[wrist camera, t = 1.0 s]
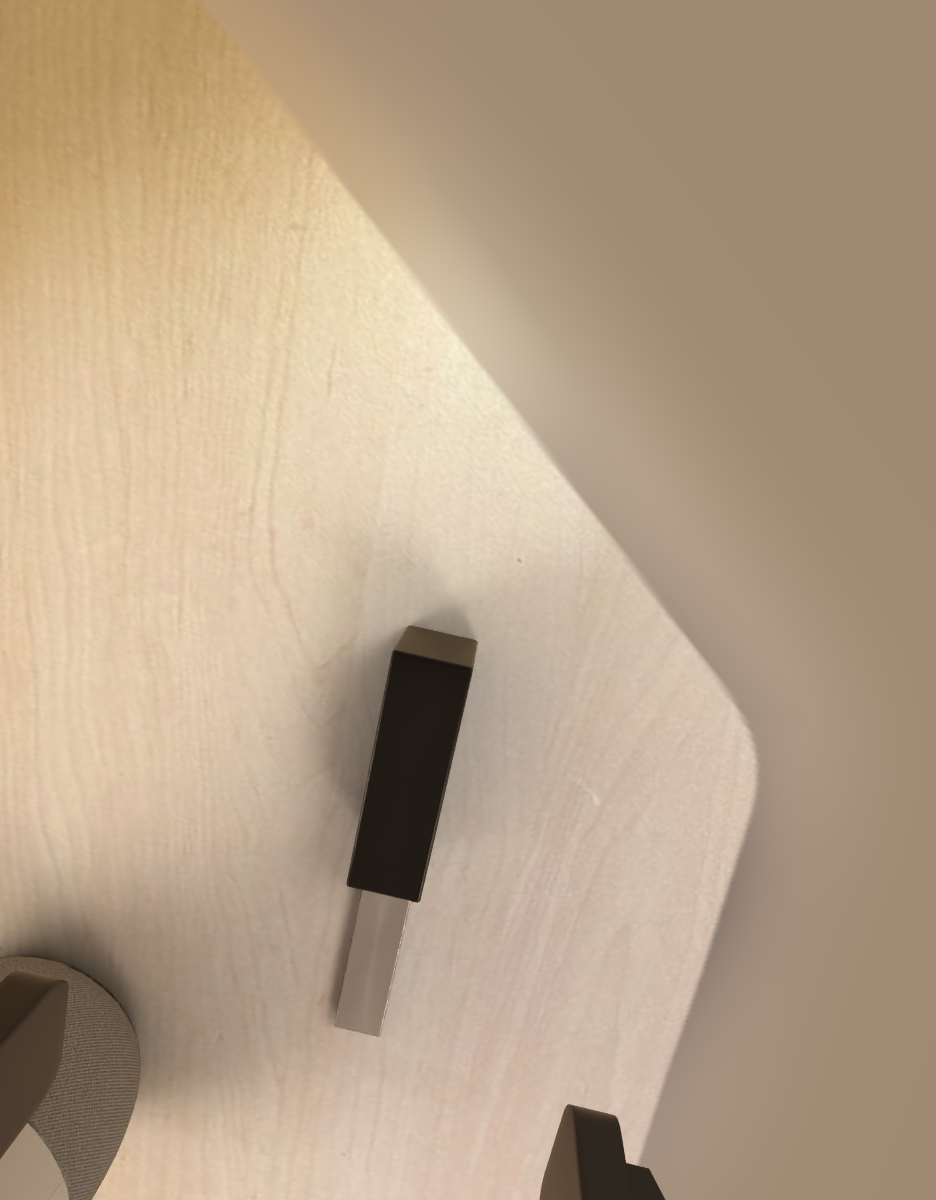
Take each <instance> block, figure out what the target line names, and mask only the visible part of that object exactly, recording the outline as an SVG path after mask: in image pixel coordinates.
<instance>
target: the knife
mask: <svg viewBox="0 0 936 1200" xmlns="http://www.w3.org/2000/svg"><path fill="white" fill-rule="evenodd" d="M477 645H478V642H477V641H476V640H473V639H468V638H464V637H459V636H455V635H451V634H446V633H442V632H437V631H433V630H428V629H424V628H419V627H415V626H411V625H410V626H408V627H407V629H406V630H405V632H404V634H403V635H402V637H401V638H400V640H399V642H398V643H397V645H396V647H395V648H394V650H393V652H392V656H391V661H390V666H389V671H388V676H387V681H386V686H385V691H384V696H383V701H382V706H381V711H380V716H379V721H378V726H377V732H376V737H375V742H374V747H373V752H372V757H371V762H370V767H369V772H368V777H367V782H366V787H365V792H364V797H363V802H362V807H361V813H360V818H359V823H358V828H357V833H356V838H355V843H354V848H353V853H352V858H351V863H350V868H349V873H348V878H347V886H348V887H352V888H356V889H361V890H362V892H361V897H360V902H359V906H358V911H357V916H356V921H355V926H354V931H353V936H352V941H351V946H350V951H349V955H348V960H347V965H346V970H345V975H344V980H343V985H342V990H341V995H340V1000H339V1004H338V1009H337V1014H336V1019H335V1024H334V1026H335V1027H339V1028H343V1029H347V1030H352V1031H356V1032H360V1033H364V1034H368V1035H373V1036H377V1037H380V1035H381V1031H382V1026H383V1022H384V1017H385V1013H386V1009H387V1004H388V1000H389V995H390V991H391V986H392V982H393V977H394V973H395V968H396V964H397V960H398V955H399V951H400V946H401V942H402V937H403V933H404V928H405V924H406V919H407V915H408V910H409V906H410V902H411V901H412V902H417V903H418V902H419V901H420V900H421V896H422V891H423V887H424V883H425V878H426V874H427V869H428V865H429V861H430V856H431V852H432V848H433V843H434V839H435V834H436V830H437V826H438V821H439V817H440V813H441V808H442V804H443V799H444V795H445V791H446V786H447V782H448V777H449V773H450V769H451V764H452V760H453V756H454V751H455V747H456V742H457V738H458V734H459V729H460V725H461V721H462V716H463V712H464V707H465V703H466V699H467V694H468V690H469V685H470V681H471V677H472V672H473V667H474V662H475V656H476V650H477Z"/></svg>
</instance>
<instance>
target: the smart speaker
mask: <svg viewBox="0 0 936 1200" xmlns="http://www.w3.org/2000/svg"><path fill="white" fill-rule="evenodd" d="M19 969H21V970H26V971H30V972H34V973H38V974H42V975H46V976H51V977H55V978H59V979H63V980H66V981H67V983H68V986H69V991H68V1002H67V1012H66V1022H65V1032H64V1042H63V1052H62V1059H61V1063H60V1066H59V1069H58V1072H57V1075H56V1077H55V1079H54V1082H53V1084H52V1086H51V1088H50V1090H49V1092H48V1093H47V1095H46V1097H45V1099H44V1100H43V1102H42V1103H41V1105H40V1106H39V1108H38V1109H37V1110H36V1112H35V1113H34V1115H33V1116H32V1117H31V1119H30V1120H29V1121H28V1123H27V1124H26V1125H25V1127H24V1128H23V1129H22V1131H21V1132H20V1134H19V1135H18V1136H17V1138H16V1139H15V1140H14V1142H13V1143H12V1144H11V1146H10V1147H9V1148H8V1150H7V1151H6V1152H5V1154H4V1155H3V1157H2V1158H1V1159H0V1200H92V1198H93V1197H94V1195H95V1193H96V1192H97V1190H98V1188H99V1186H100V1185H101V1183H102V1181H103V1179H104V1177H105V1175H106V1174H107V1172H108V1170H109V1168H110V1166H111V1164H112V1162H113V1160H114V1158H115V1156H116V1154H117V1152H118V1149H119V1147H120V1145H121V1143H122V1140H123V1138H124V1135H125V1132H126V1130H127V1127H128V1124H129V1121H130V1119H131V1116H132V1112H133V1109H134V1105H135V1102H136V1098H137V1093H138V1087H139V1081H140V1049H139V1044H138V1040H137V1036H136V1033H135V1031H134V1028H133V1026H132V1024H131V1021H130V1020H129V1018H128V1016H127V1014H126V1012H125V1011H124V1009H123V1008H122V1006H121V1005H120V1004H119V1002H118V1001H117V1000H116V999H115V997H114V996H113V995H112V994H111V993H110V992H109V991H108V990H107V989H106V988H105V987H104V986H102V985H101V984H100V983H99V982H97V981H96V980H95V979H93V978H92V977H90V976H89V975H87V974H85V973H84V972H82V971H80V970H78V969H76V968H74V967H72V966H69V965H66V964H64V963H61V962H57V961H54V960H49V959H44V958H38V957H28V956H15V957H5V958H0V983H1V982H2V981H3V980H4V979H5V978H6V977H7V976H8V975H9V974H11V973H12V972H14V971H16V970H19Z"/></svg>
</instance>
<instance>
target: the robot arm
mask: <svg viewBox="0 0 936 1200" xmlns="http://www.w3.org/2000/svg"><path fill="white" fill-rule="evenodd" d="M68 991H69V986H68V983H67V981H66V980H63V979H59V978H55V977H51V976H46V975H42V974H38V973H34V972H30V971H26V970H21V969H19V970H16V971H14V972H12V973H11V974H9V975H8V976H7V977H6V978H5V979H4V980H3V981H2V982H1V983H0V1159H1V1158H2V1157H3V1155H4V1154H5V1152H6V1151H7V1150H8V1148H9V1147H10V1146H11V1144H12V1143H13V1142H14V1140H15V1139H16V1138H17V1136H18V1135H19V1134H20V1132H21V1131H22V1129H23V1128H24V1127H25V1125H26V1124H27V1123H28V1121H29V1120H30V1119H31V1117H32V1116H33V1115H34V1113H35V1112H36V1110H37V1109H38V1108H39V1106H40V1105H41V1103H42V1102H43V1100H44V1099H45V1097H46V1095H47V1093H48V1092H49V1090H50V1088H51V1086H52V1084H53V1082H54V1079H55V1077H56V1075H57V1072H58V1069H59V1066H60V1063H61V1059H62V1052H63V1042H64V1032H65V1022H66V1012H67V1002H68ZM540 1200H665V1198H664V1196H663V1195H662V1193H661V1191H660V1189H659V1187H658V1185H657V1183H656V1181H655V1179H654V1177H653V1175H652V1174H651V1172H650V1170H649V1169H648V1168H644V1167H640V1166H636V1165H632V1164H628V1163H626V1160H625V1154H624V1147H623V1141H622V1135H621V1130H620V1125H619V1122H618V1119H617V1117H616V1116H615V1115H611V1114H607V1113H603V1112H599V1111H595V1110H591V1109H587V1108H582V1107H578V1106H574V1105H570V1104H568V1105H567V1106H566V1108H565V1110H564V1113H563V1116H562V1119H561V1122H560V1125H559V1129H558V1132H557V1135H556V1138H555V1142H554V1145H553V1148H552V1151H551V1155H550V1158H549V1161H548V1164H547V1167H546V1171H545V1174H544V1178H543V1182H542V1187H541V1194H540Z"/></svg>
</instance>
